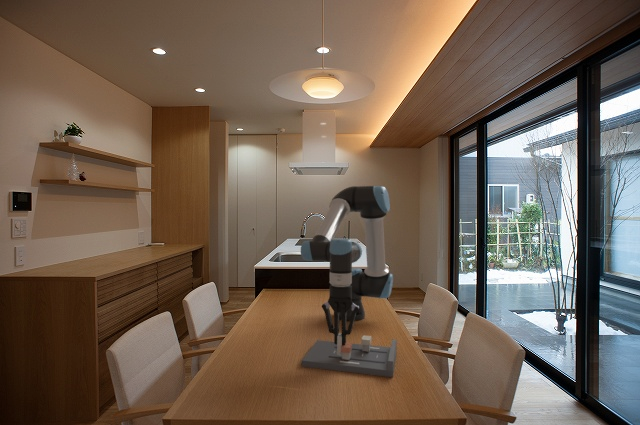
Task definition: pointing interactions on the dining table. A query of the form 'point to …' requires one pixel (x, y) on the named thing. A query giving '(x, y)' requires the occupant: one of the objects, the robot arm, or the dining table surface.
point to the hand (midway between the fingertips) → (340, 353)
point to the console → (353, 359)
